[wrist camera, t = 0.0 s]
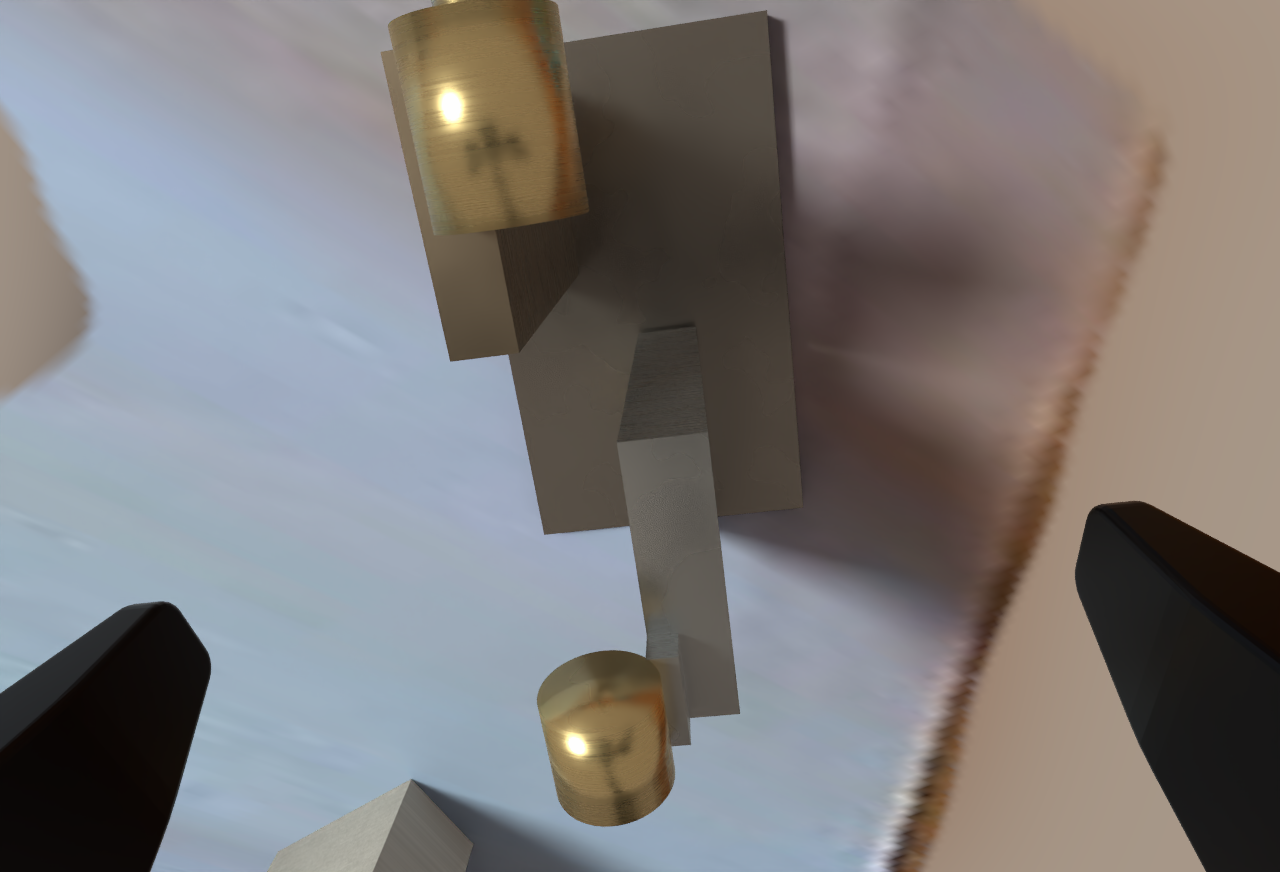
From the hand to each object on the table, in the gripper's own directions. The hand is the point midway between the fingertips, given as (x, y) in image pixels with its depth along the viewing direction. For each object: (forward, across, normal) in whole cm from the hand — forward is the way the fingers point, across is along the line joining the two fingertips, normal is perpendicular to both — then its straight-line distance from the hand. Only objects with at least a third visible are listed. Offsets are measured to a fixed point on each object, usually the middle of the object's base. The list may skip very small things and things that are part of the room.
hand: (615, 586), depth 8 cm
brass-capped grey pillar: (+14, 0, +7) cm, 16 cm away
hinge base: (+15, 0, +4) cm, 16 cm away
